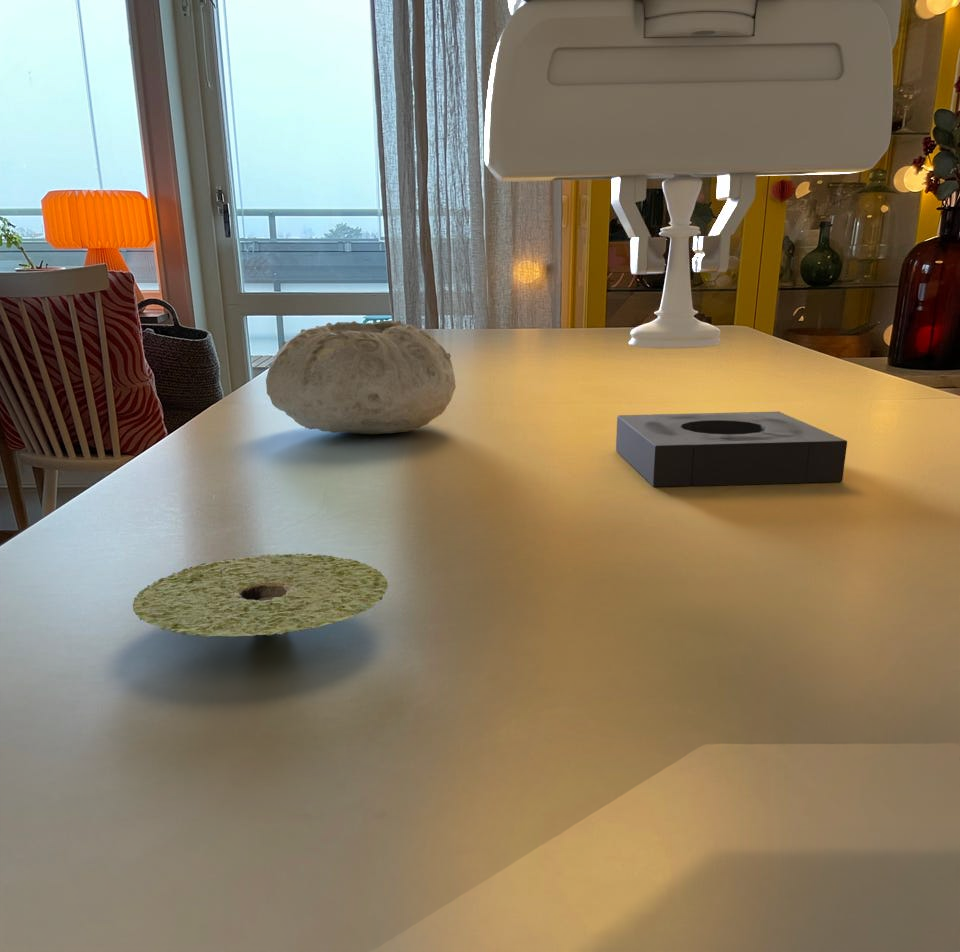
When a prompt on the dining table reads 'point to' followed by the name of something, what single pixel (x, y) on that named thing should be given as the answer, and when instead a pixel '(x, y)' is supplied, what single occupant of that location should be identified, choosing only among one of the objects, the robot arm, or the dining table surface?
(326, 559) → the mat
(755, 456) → the grey block with hole
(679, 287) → the chess piece
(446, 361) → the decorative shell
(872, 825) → the dining table surface
